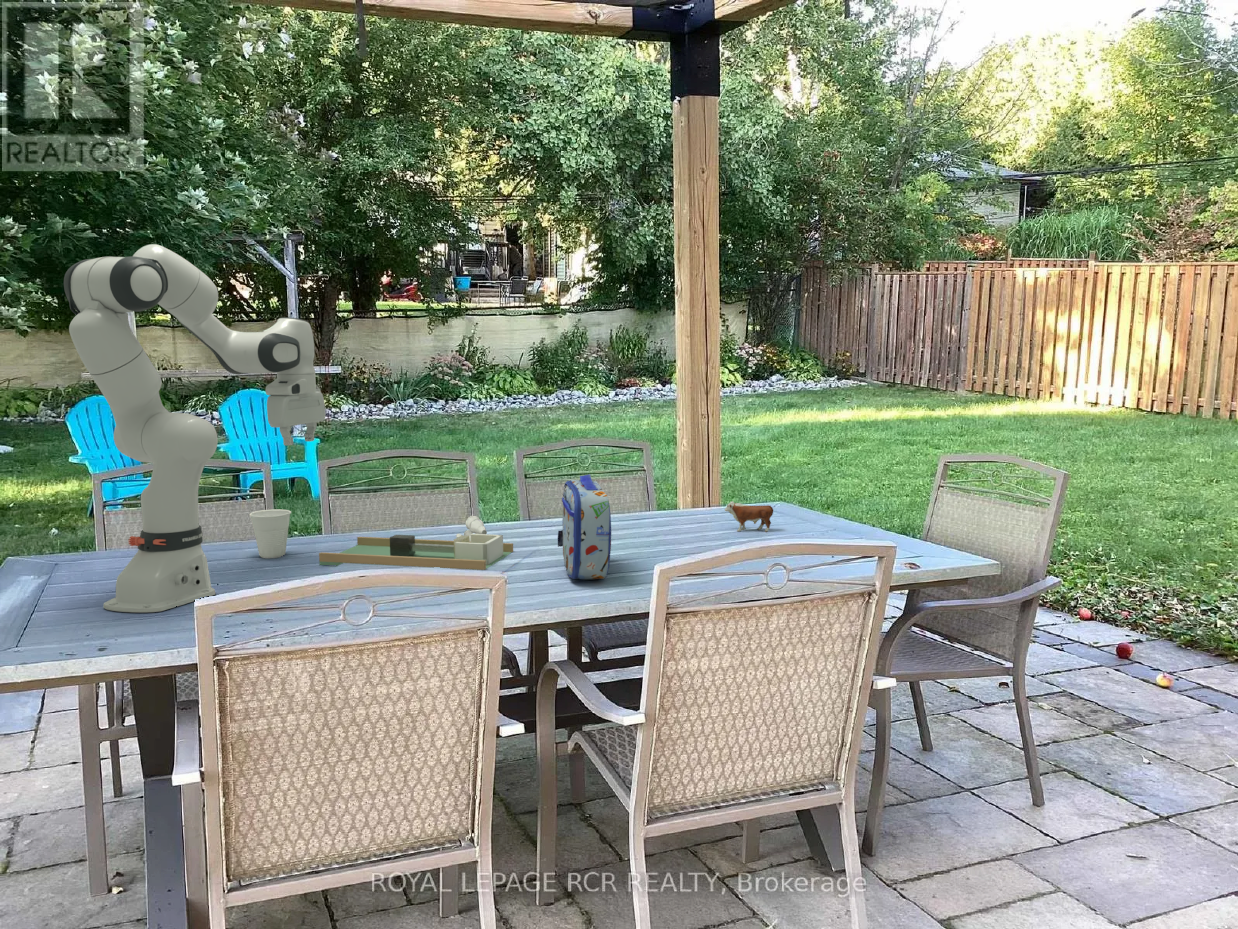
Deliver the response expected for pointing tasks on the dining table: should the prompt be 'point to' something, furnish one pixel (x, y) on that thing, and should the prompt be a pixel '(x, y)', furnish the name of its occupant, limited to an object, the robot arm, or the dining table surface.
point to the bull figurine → (750, 514)
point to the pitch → (379, 554)
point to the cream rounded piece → (473, 527)
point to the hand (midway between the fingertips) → (299, 443)
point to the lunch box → (585, 529)
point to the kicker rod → (419, 546)
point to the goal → (480, 548)
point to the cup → (271, 531)
